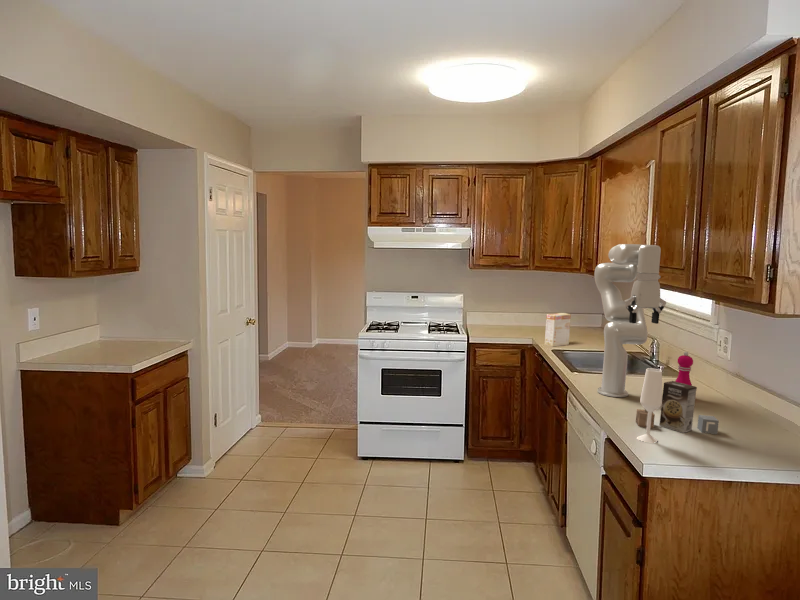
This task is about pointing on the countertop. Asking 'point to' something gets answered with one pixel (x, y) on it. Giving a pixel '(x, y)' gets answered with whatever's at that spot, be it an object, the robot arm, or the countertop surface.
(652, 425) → the walnut block one
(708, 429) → the slate block seven
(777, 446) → the countertop surface
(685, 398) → the coffee box
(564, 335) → the coffeecake box
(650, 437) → the champagne flute
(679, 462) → the countertop surface
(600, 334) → the countertop surface
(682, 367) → the pepper mill
